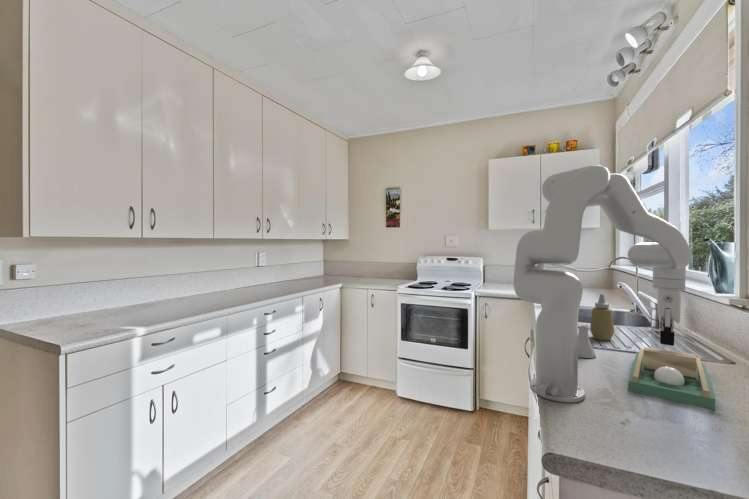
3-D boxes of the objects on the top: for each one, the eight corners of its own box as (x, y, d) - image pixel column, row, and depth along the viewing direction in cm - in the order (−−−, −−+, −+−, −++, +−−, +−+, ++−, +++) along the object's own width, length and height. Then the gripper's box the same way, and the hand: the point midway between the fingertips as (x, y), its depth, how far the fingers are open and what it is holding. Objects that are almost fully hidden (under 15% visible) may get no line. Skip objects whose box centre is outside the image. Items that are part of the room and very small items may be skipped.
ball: (685, 384, 82) (684, 364, 86) (653, 377, 86) (654, 359, 90) (684, 398, 85) (683, 379, 88) (653, 391, 89) (654, 373, 92)
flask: (601, 359, 111) (601, 329, 111) (579, 359, 111) (579, 329, 111) (587, 352, 118) (587, 323, 118) (566, 352, 118) (566, 324, 118)
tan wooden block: (644, 364, 98) (644, 346, 98) (695, 373, 91) (695, 354, 91) (643, 368, 95) (643, 350, 95) (696, 378, 88) (696, 358, 88)
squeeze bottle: (591, 335, 139) (591, 292, 139) (615, 338, 134) (615, 293, 134) (588, 339, 133) (588, 294, 133) (613, 343, 128) (613, 296, 128)
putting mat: (636, 359, 110) (636, 347, 110) (704, 371, 99) (704, 358, 99) (628, 390, 87) (628, 375, 87) (715, 409, 77) (715, 392, 77)
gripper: (686, 287, 94) (684, 352, 94) (684, 283, 105) (682, 341, 105) (651, 285, 99) (650, 346, 99) (653, 281, 110) (651, 337, 110)
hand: (667, 344), depth 102 cm, fingers closed
